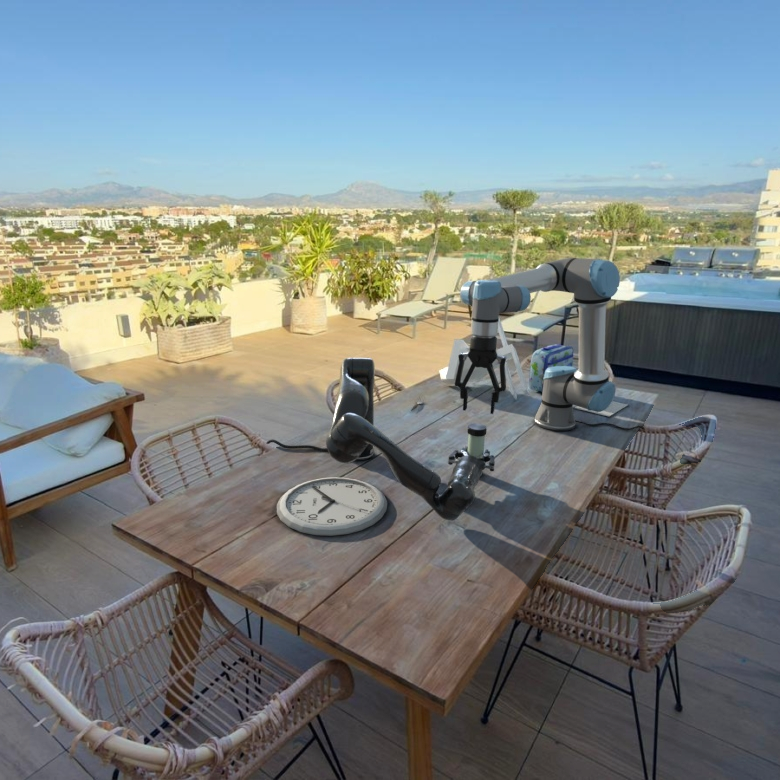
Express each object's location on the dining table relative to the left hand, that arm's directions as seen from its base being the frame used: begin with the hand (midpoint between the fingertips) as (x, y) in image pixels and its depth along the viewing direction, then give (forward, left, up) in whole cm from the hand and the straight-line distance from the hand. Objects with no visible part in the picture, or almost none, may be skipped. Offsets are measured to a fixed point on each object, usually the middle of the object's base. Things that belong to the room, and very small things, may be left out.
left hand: (476, 450), depth 163 cm
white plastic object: (-12, +82, -7) cm, 83 cm away
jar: (0, -2, -7) cm, 7 cm away
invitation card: (+41, +81, -7) cm, 91 cm away
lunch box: (+18, +100, -7) cm, 102 cm away
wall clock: (-33, -36, -7) cm, 49 cm away
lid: (0, -2, +9) cm, 9 cm away
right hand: (0, -2, +14) cm, 14 cm away
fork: (-34, +52, -7) cm, 63 cm away
